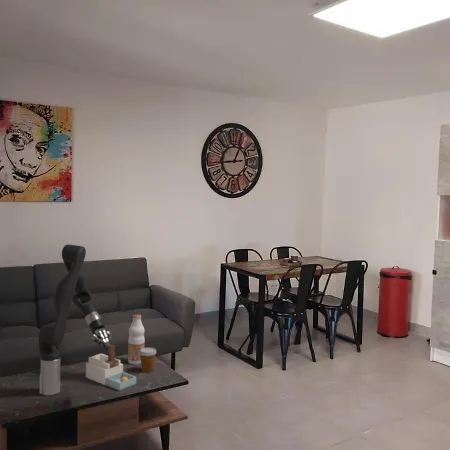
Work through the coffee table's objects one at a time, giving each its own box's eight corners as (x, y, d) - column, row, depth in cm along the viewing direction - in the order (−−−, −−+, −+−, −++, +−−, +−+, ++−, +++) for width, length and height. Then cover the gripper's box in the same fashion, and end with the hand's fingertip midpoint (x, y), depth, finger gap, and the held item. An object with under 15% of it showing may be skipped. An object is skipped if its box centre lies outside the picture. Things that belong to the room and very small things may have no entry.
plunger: (110, 368, 258) (110, 347, 257) (105, 366, 260) (105, 346, 260) (118, 365, 262) (118, 345, 261) (113, 363, 265) (113, 343, 264)
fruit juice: (125, 363, 288) (125, 316, 286) (133, 358, 297) (134, 312, 295) (139, 365, 285) (140, 318, 283) (147, 360, 294) (148, 314, 291)
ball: (118, 378, 254) (121, 385, 253) (125, 374, 255) (128, 381, 254) (119, 379, 258) (123, 386, 256) (126, 375, 259) (130, 382, 257)
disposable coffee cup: (157, 368, 282) (158, 347, 281) (153, 374, 273) (154, 353, 272) (141, 367, 283) (141, 346, 282) (136, 373, 274) (137, 352, 273)
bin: (119, 390, 250) (119, 383, 249) (105, 385, 256) (105, 377, 256) (136, 384, 258) (136, 377, 258) (122, 378, 265) (122, 371, 265)
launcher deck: (104, 385, 256) (105, 365, 255) (85, 377, 266) (85, 358, 265) (122, 378, 266) (123, 359, 265) (103, 371, 275) (104, 352, 275)
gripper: (87, 320, 262) (102, 348, 255) (107, 316, 272) (122, 342, 266) (81, 328, 265) (95, 356, 259) (101, 323, 276) (115, 350, 269)
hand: (108, 349), depth 262 cm, fingers closed
